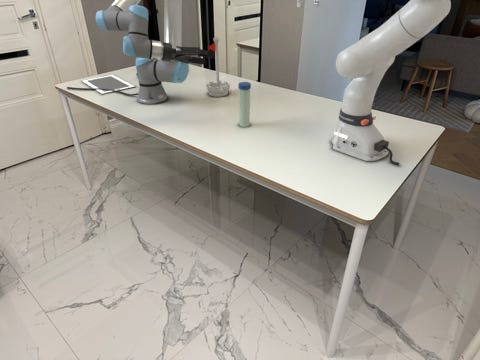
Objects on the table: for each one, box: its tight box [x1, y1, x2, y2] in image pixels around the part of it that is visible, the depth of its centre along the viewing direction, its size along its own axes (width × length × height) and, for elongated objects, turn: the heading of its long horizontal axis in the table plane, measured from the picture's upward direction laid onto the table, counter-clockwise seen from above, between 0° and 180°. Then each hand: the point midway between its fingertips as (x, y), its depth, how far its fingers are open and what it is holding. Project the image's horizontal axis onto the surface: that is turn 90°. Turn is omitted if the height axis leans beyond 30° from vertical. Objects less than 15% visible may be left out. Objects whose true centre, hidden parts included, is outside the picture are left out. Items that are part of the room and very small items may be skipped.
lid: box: [237, 81, 252, 90], centre depth 145 cm, size 5×5×2 cm
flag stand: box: [205, 36, 231, 98], centre depth 183 cm, size 13×13×30 cm
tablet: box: [81, 74, 136, 95], centre depth 206 cm, size 32×20×1 cm, turn 41°
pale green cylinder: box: [238, 88, 251, 128], centre depth 150 cm, size 5×5×19 cm
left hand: (209, 58), depth 152 cm, fingers open, 13 cm apart
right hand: (308, 6), depth 134 cm, fingers open, 8 cm apart
